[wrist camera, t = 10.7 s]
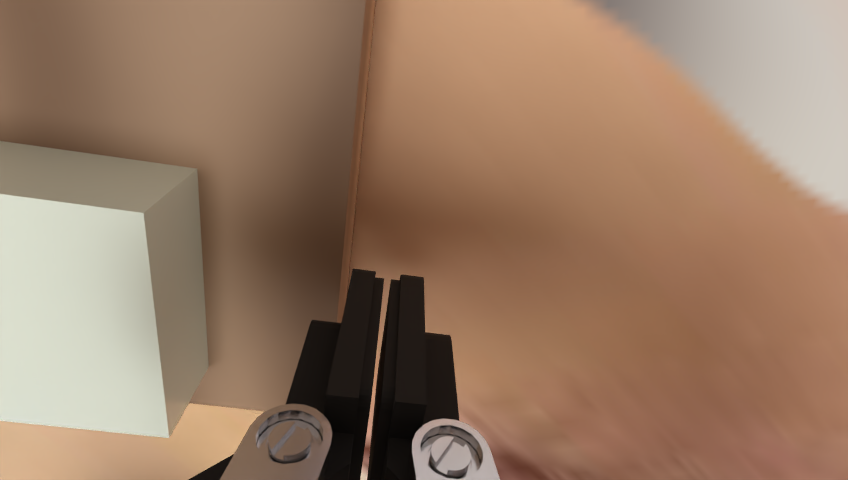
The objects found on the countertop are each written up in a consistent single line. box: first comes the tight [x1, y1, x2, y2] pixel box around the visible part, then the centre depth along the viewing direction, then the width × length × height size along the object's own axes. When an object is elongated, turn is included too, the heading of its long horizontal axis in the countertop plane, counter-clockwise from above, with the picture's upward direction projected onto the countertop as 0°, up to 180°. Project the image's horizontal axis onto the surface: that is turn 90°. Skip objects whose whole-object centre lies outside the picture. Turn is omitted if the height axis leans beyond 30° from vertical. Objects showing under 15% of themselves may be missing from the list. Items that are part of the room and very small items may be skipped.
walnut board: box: [0, 0, 376, 411], centre depth 11 cm, size 12×20×2 cm, turn 171°
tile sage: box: [0, 141, 209, 438], centre depth 12 cm, size 6×6×2 cm
